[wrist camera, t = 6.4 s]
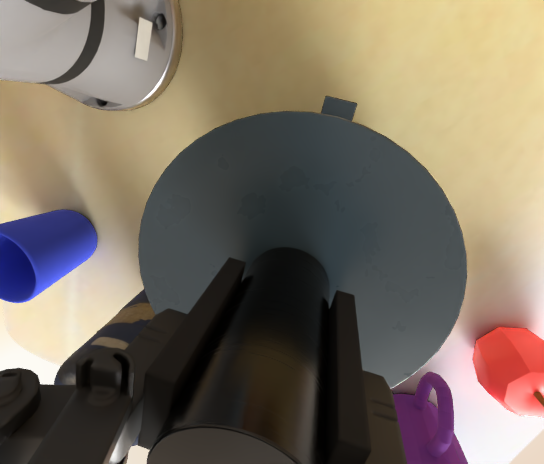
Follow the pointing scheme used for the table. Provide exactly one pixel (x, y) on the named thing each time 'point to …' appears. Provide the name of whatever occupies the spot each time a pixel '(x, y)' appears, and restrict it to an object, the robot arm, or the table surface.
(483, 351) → the apple
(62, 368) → the canister
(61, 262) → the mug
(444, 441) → the mug
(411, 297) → the lid
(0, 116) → the table surface
